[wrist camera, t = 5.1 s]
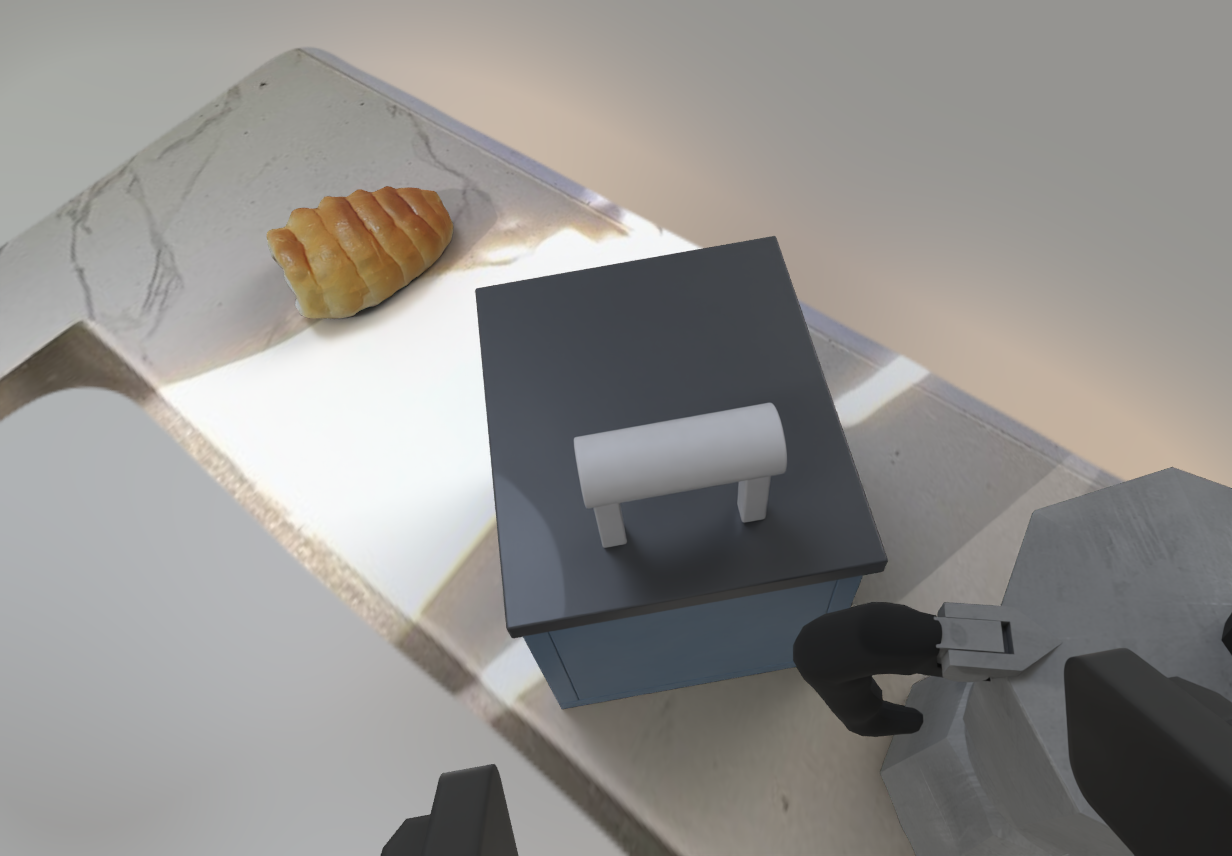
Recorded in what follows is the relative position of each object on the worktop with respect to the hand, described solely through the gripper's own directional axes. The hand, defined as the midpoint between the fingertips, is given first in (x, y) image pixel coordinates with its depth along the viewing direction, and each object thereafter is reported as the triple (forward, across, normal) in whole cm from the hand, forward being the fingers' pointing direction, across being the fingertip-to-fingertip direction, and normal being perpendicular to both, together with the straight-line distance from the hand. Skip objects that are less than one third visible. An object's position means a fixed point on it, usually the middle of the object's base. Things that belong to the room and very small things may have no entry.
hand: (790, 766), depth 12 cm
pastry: (+38, -13, +7) cm, 41 cm away
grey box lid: (+17, 0, +1) cm, 17 cm away
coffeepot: (+17, +9, -14) cm, 24 cm away
